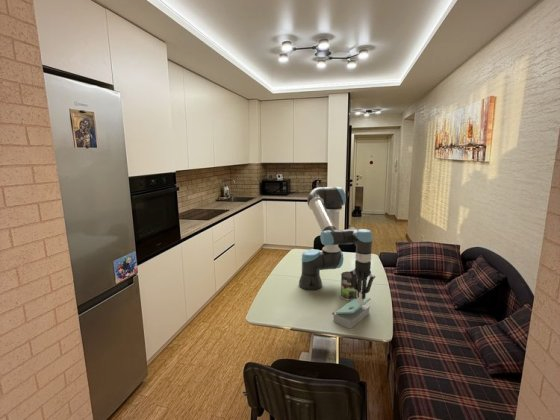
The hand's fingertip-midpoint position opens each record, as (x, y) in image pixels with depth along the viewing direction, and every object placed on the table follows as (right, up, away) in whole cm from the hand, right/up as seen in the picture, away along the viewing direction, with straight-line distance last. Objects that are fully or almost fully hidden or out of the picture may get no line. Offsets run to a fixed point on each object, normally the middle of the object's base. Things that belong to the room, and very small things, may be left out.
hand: (361, 303), depth 156 cm
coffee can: (0, -5, +28) cm, 29 cm away
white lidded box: (-4, -9, +5) cm, 11 cm away
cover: (-3, -2, +3) cm, 5 cm away
